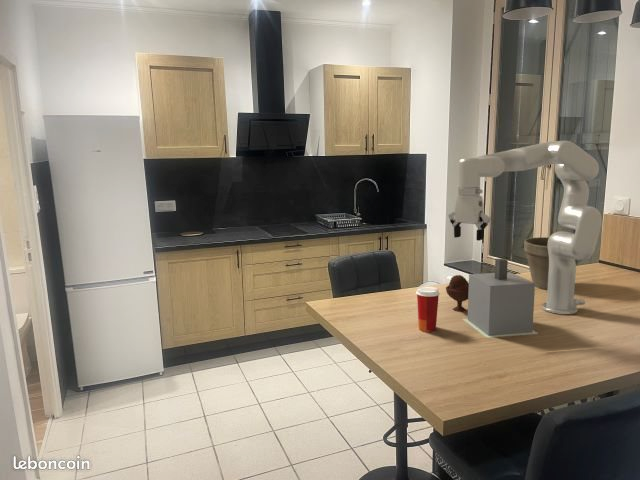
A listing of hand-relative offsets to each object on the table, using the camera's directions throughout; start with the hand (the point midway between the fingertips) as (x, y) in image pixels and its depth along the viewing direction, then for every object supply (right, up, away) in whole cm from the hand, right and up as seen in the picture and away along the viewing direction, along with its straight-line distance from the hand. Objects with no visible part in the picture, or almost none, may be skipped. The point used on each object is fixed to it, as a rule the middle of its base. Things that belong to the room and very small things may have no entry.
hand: (468, 238), depth 168 cm
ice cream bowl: (+2, -29, +16) cm, 34 cm away
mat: (+10, -32, -3) cm, 34 cm away
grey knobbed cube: (+10, -32, -3) cm, 34 cm away
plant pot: (+54, -23, +47) cm, 75 cm away
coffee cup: (-16, -33, -3) cm, 37 cm away
